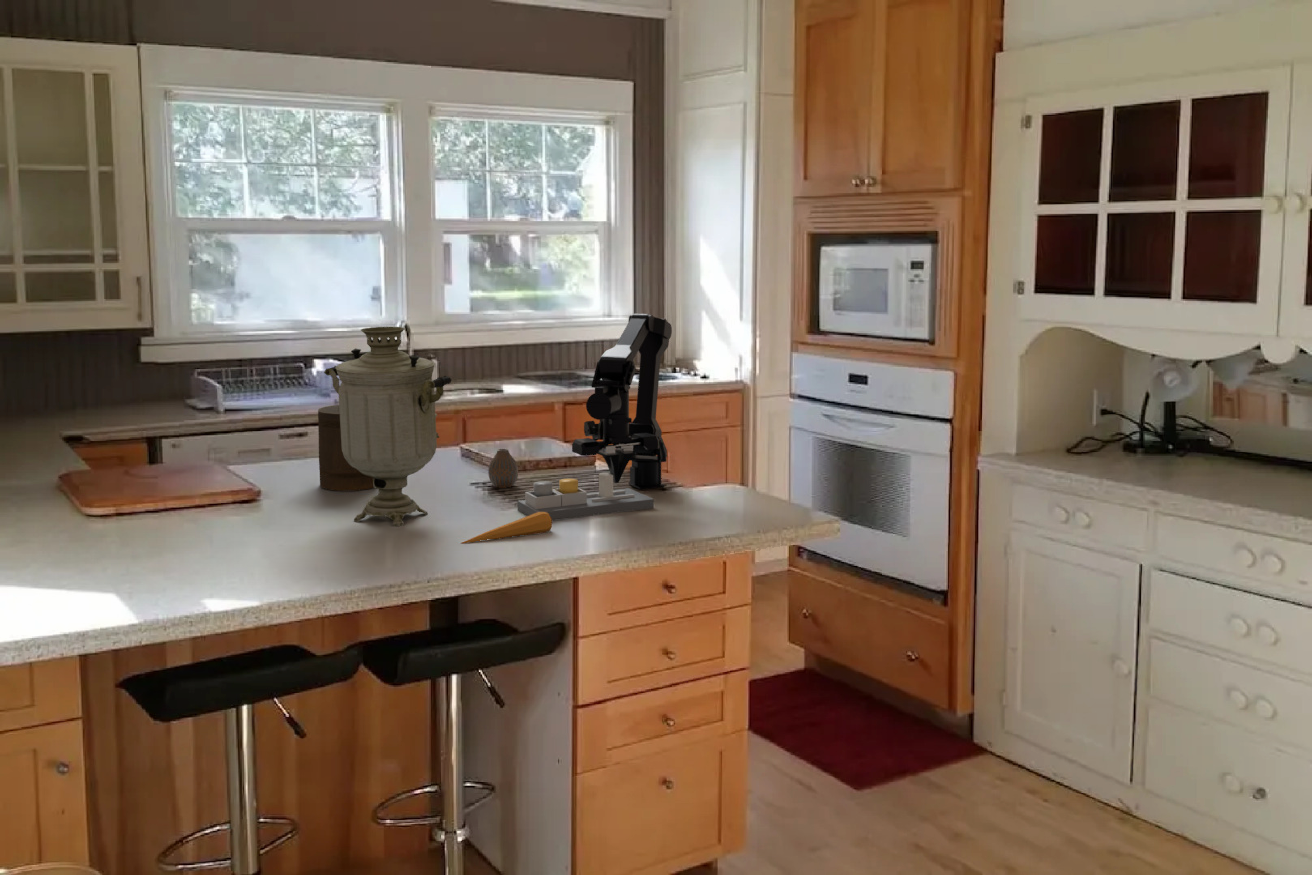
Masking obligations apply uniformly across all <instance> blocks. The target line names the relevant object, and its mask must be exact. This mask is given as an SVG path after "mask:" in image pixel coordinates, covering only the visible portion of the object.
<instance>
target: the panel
mask: <svg viewBox="0 0 1312 875" xmlns="http://www.w3.org/2000/svg"><path fill="white" fill-rule="evenodd" d="M524 494H525V495H524V496H525V499H521V500H517V511H519V512H521V513H522V514H524V515H526V516H529V515H532V514H534V513H537V512H546V513H549V515H550V517H551V518H552V521H558V520H565V519H566V520H567V519H574V518H582V517H583V518H584V517H588V516H589V517H590V516H599V515H600V516H601V515H608V514H609V515H610V514H616V513H622V512H623V513H624V512H631V511H640V510H641V511H642V510H647V509H648V510H650V509H654V506H655V503H654V502H655V501H654V500H655V499H654V498H652V497H650V496H648V495H646V494H643V493H641V492H639V491H637V490H634V489H632V488H629V487H626V488H619V489H613V496H611V497H601V496H599V491H593V492H587V491H586V490H584V489H581V488H579V487H578V492H577V493H568V494H562V493H560V488H559V487H557V488H552V495H550V496H541V497H536V496H534V490H532V491H525V492H524Z"/></svg>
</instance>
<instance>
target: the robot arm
mask: <svg viewBox="0 0 1312 875" xmlns="http://www.w3.org/2000/svg"><path fill="white" fill-rule="evenodd" d="M627 322H628V323H627V325H626V326H625V328H624V330H623V331H622V333H621V335H620V336H619V339H618V340H617V342H616V344H615V345H614V346H613V347H611V348H609V349H607V350H605V351H604V353H603V354H602V355H601V356H600V358H598V359H597V360H598V361H597V363H596V366H595V370H594V373H593V378H592V382H591V388H592V389H593V388H594V393H591V395H589V397H588V398H587V400H586V403H585V407H586V411H587V413H588V415H589V416H590V417H591V418H593V419H594V420H597V421H599V423H595V421H594V420H588V421H587V420H586V421H584V422H583V432H584V436H585V437H586V438H576V439H574V440H573V441H572V444H571V452H572V453H574V454H577V455H579V456H582V457H588V456H589V457H590V456H597V455H599V456H602V457H603V459H604V461H605V463H606V465H607V468H608V470H609V474H611V475H613V484H619V483H620V480H621V478H622V477H623V474H624V472H625V470H626V468H627V466H628V463H629V462H630V461H631V466H630V467H629V482H628V485H629V486H632V487H634V488H637V489H638V490H647V489H648V490H649V489H654V488H664V487H665V484H664V483H662V463H666V462H667V457H668V449H667V446H666V444H665V442H664V439H663V437H662V436H663V435H662V428H661V427H660V425H659V423H658V421H657V406H658V394H659V382H660V380H659V379H660V369H661V357H662V356H663V355H664V353H665V352H666V350H667V349H668V348H669V344H670V343H669V342H670V339H671V337H672V332H673V329H672V324H671V323H669V322H668V320H667V319H666V318H658V317H655V316H654V315H651V314H649V313H632V314H629V316H628V321H627ZM638 353H639V354H640V358H639V359H640V361H639V371H638V383H637V396H636V406H635V408H636V410H635V418H633V420H632V417H630V390H631V385H632V383H633V380H634V377H635V374H636V365H635V362H634V360H635V357H636V355H637V354H638ZM590 437H591V438H590Z"/></svg>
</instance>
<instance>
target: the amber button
mask: <svg viewBox="0 0 1312 875" xmlns="http://www.w3.org/2000/svg"><path fill="white" fill-rule="evenodd" d="M558 483H559V485H558V486H559V487H558V488H560V493H562V494H568V493H577V492H578V488H579V480H578V479H576V478H562V479H559V482H558Z"/></svg>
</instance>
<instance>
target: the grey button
mask: <svg viewBox="0 0 1312 875" xmlns="http://www.w3.org/2000/svg"><path fill="white" fill-rule="evenodd" d="M532 484H533V491H534V496H536V497H541V496H550V495H552V489H553V482H552V481H548V480H547V481H546V480H544V481H541V480H540V481H535V482H533V483H532Z"/></svg>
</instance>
